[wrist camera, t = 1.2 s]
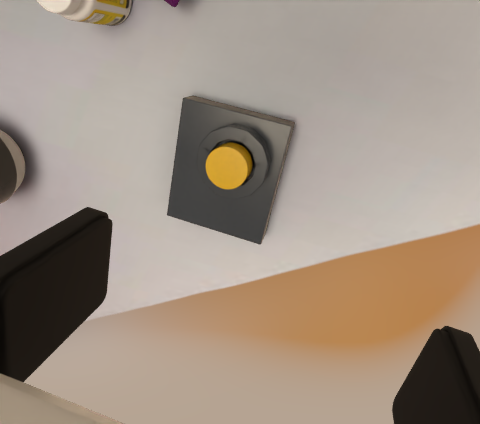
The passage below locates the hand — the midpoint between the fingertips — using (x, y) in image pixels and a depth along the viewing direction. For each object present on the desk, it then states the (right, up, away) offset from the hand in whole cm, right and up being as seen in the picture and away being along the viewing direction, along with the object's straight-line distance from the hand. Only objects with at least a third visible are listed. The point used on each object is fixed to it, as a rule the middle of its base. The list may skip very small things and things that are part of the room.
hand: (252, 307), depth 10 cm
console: (-1, +7, +30) cm, 31 cm away
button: (-1, +7, +25) cm, 26 cm away
